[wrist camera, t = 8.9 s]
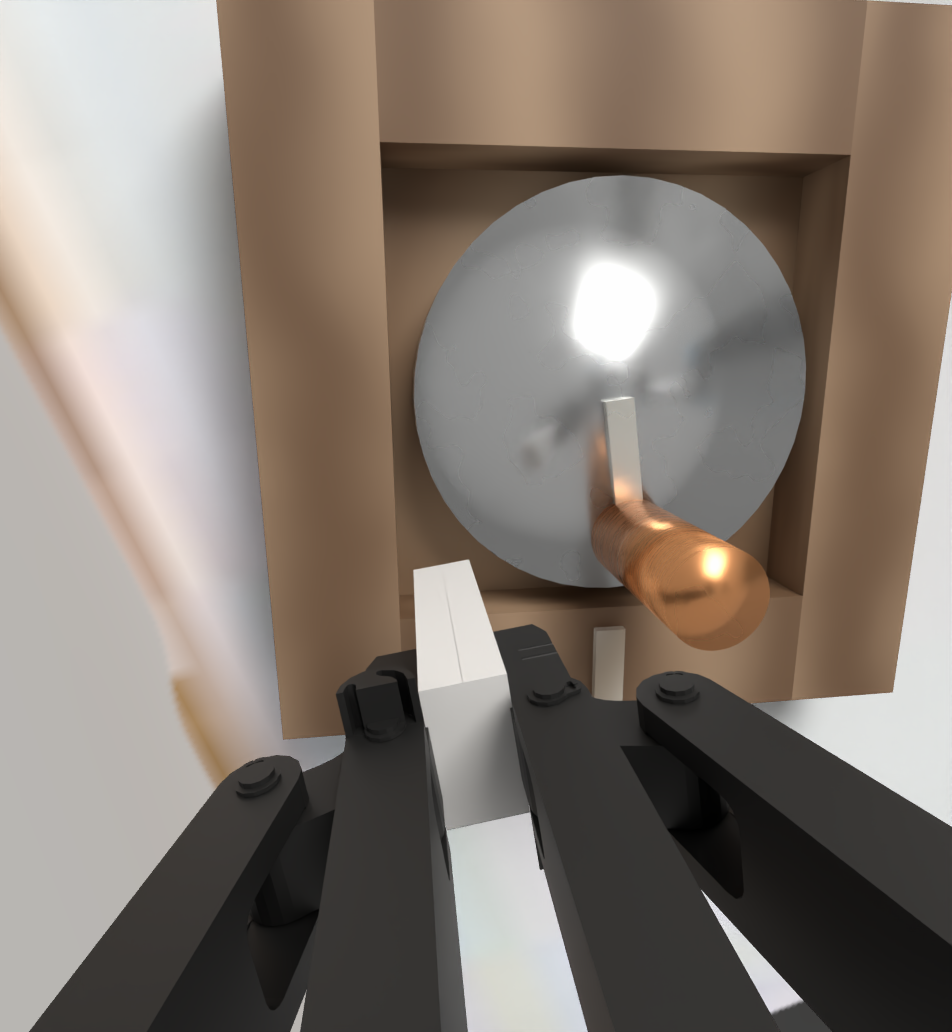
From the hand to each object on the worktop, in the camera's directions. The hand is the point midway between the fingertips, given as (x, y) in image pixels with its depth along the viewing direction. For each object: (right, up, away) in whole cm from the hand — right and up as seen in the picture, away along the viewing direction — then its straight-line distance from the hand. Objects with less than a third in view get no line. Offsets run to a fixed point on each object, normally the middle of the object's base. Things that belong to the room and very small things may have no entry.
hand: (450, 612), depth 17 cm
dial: (+5, +7, +5) cm, 10 cm away
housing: (+5, +7, +7) cm, 11 cm away
